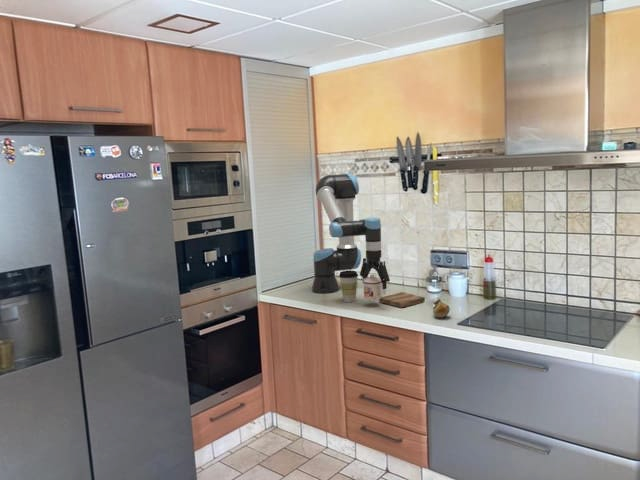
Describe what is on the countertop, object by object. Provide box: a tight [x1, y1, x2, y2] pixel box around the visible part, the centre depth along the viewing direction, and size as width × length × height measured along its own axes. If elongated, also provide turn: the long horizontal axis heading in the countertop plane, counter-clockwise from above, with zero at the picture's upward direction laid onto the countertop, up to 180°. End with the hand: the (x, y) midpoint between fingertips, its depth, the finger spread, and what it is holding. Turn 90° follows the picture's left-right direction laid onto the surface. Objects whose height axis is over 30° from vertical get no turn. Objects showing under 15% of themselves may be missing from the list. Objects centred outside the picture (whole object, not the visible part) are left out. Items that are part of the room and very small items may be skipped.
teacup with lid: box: [362, 274, 383, 301], centre depth 259 cm, size 12×9×12 cm
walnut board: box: [378, 291, 426, 309], centre depth 264 cm, size 16×16×2 cm
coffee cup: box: [338, 270, 359, 303], centre depth 272 cm, size 10×10×15 cm
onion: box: [432, 298, 451, 319], centre depth 235 cm, size 8×8×8 cm
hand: (374, 292), depth 259 cm, fingers closed on teacup with lid, 12 cm apart
